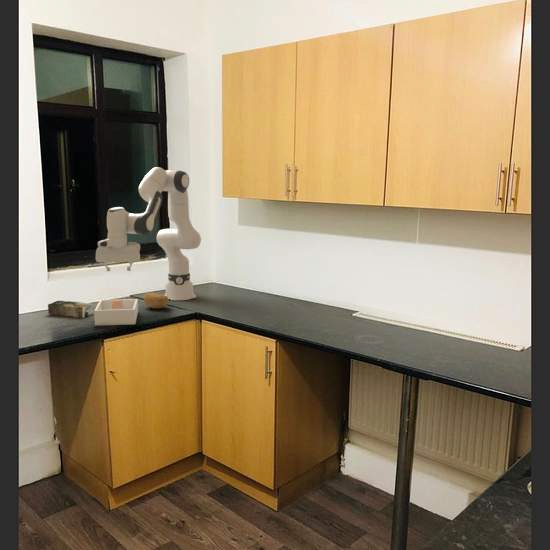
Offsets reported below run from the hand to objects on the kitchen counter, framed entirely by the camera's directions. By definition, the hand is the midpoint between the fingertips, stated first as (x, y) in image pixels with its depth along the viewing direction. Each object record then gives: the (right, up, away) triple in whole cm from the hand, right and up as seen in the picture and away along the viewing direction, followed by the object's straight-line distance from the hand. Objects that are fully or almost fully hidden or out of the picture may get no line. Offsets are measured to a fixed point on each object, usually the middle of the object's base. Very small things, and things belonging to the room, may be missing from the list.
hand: (118, 271), depth 263 cm
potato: (+13, -20, +25) cm, 34 cm away
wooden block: (-1, -22, +3) cm, 22 cm away
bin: (-1, -23, +3) cm, 23 cm away
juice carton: (-26, -22, +10) cm, 35 cm away
